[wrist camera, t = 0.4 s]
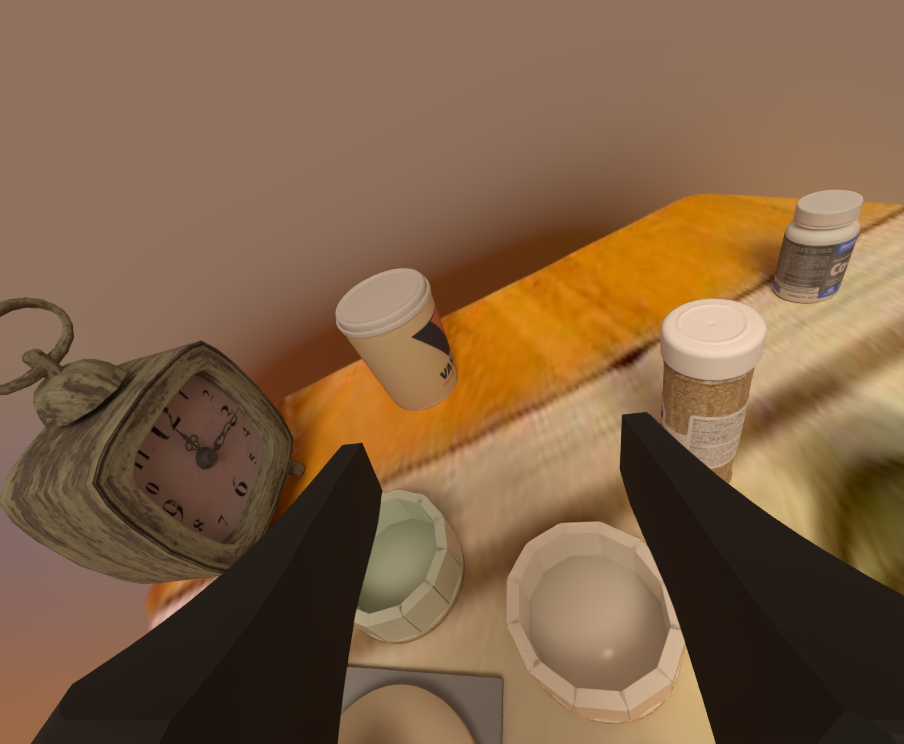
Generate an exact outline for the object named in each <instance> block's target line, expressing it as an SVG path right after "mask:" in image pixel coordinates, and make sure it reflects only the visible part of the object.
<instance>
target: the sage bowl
mask: <svg viewBox="0 0 904 744" xmlns="http://www.w3.org/2000/svg"><path fill="white" fill-rule="evenodd" d="M463 577H464V556H463V551H462V548H461V545H460V542H459V540H458V538H457V535H456V534H455V532H454V531H453V529H452V528H451V526H450V525H449V523H448V522H447V521H446V519H445V518H444V516H443V515H442V514H441V513H440V511H439V510H438V509H437V508H436V507H435V506H434V505H433V504H432V503H431V501H430V500H429V499H428V498H427V497H426V496H425V495H423V494H418V493H413V492H409V491H404V490H399V489H398V490H394V491H391V492H388V493H385V494H382V498H381V507H380V514H379V522H378V527H377V531H376V535H375V539H374V543H373V547H372V551H371V555H370V559H369V563H368V566H367V570H366V574H365V578H364V582H363V586H362V590H361V593H360V597H359V601H358V606H357V610H356V615H355V620H354V627H356V628H357V629H359V630H361V631H363V632H365V633H367V634H368V635H370V636H371V637H373V638H375V639H377V640H379V641H382V642H385V643H391V644H402V643H407V642H411V641H414V640H417V639H419V638H421V637H423V636H425V635H426V634H428V633H429V632H431V631H432V630H434V629H435V628H436V627H437V626H438V625H439V624H440V623H441V622H442V621H443V620H444V619H445V618H446V616H447V615H448V614H449V612H450V611H451V609H452V608H453V606H454V604H455V602H456V600H457V598H458V595H459V593H460V590H461V587H462V583H463Z"/></svg>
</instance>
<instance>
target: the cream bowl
mask: <svg viewBox="0 0 904 744" xmlns="http://www.w3.org/2000/svg"><path fill="white" fill-rule="evenodd" d="M527 543H528V544H526V545H525V547H524V549H523V550H522V552H521V554H520V556H519V558H518V559H517V561H516V563H515V565H514V567H513V568H512V570H511V572H510V574H509V576H508V577H507V578H508V579H507V604H506V624H507V627H508V629H509V632H510V634H511V636H512V638H513V640H514V642H515V644H516V646H517V648H518V651H519V653H520V655H521V657H522V659H523V661H524V663H525V665H526V667H527V670H528V671H529V673H530V674H531V675H532V676H533V678H534V679H535V680H536V681H537V682H538V684H539V685H540V686H541V687H542V688H544V689H545V690H546V691H547V692H549V694H550V695H551V696H552V697H553V698H554V699H556V700H557V701H558V702H559V703H560V704H561V705H563V706H564V707H566V708H567V709H568V710H570V711H571V712H573V713H575V714H577V715H579V716H580V717H582V718H586V719H589V720H592V721H595V722H600V723H606V724H622V723H629V722H633V721H636V720H639V719H642V718H643V717H645V716H647V715H649V714H651V713H652V712H653V711H655V710H656V709H657V708H658V707H660V706H661V704H662V703H663V702H664V701H665V700H666V699H667V698H668V697H670V695H671V692H672V689H673V688H674V685H675V683H676V680H677V678H678V675H679V670H680V666H681V661H682V656H683V653H684V650H685V645H686V644H685V641H684V638H683V635H682V632H681V629H680V626H679V623H678V620H677V617H676V614H675V611H674V608H673V605H672V602H671V600H670V597H669V594H668V592H667V589H666V587H665V584H664V582H663V580H662V577H661V575H660V573H659V571H658V568H657V566H656V564H655V561H654V559H653V557H652V554H651V552H650V550H649V548H648V547H647V546H646V545H645V544H644V542H643V541H641V540H640V539H638V538H636V537H633V536H631V535H629V534H627V533H625V532H622V531H620V530H618V529H616V528H614V527H611V526H609V525H607V524H605V523H602V522H573V523H560V524H557V525H556V526H554V527H552V528H551V529H549V530H547V531H546V532H544V533H542V534H541V535H539V536H537V537H536V538H534V539H532V540H531V541H529V542H527Z"/></svg>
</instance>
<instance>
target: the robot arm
mask: <svg viewBox="0 0 904 744" xmlns="http://www.w3.org/2000/svg"><path fill="white" fill-rule="evenodd" d="M620 472H621V475H622V479H623V482H624V486H625V489H626V492H627V496H628V499H629V502H630V505H631V508H632V510H633V512H634V515H635V517H636V520H637V522H638V524H639V527H640V529H641V531H642V534H643V536H644V538H645V540H646V543H647V545H648V547H649V550H650V552H651V554H652V557H653V559H654V561H655V564H656V566H657V568H658V571H659V573H660V575H661V577H662V580H663V582H664V584H665V587H666V589H667V592H668V594H669V597H670V600H671V602H672V605H673V608H674V611H675V614H676V617H677V620H678V623H679V626H680V629H681V632H682V635H683V638H684V641H685V644H686V647H687V650H688V653H689V657H690V660H691V663H692V666H693V669H694V673H695V676H696V679H697V682H698V685H699V689H700V692H701V695H702V698H703V702H704V705H705V709H706V712H707V715H708V719H709V722H710V725H711V729H712V732H713V736H714V739H715V742H716V744H904V596H903V595H902V594H900V593H898V592H896V591H894V590H892V589H890V588H889V587H887V586H885V585H883V584H881V583H880V582H878V581H876V580H874V579H872V578H871V577H869V576H867V575H865V574H864V573H862V572H860V571H859V570H857V569H855V568H854V567H852V566H850V565H848V564H847V563H845V562H843V561H842V560H840V559H838V558H837V557H835V556H833V555H832V554H830V553H828V552H826V551H825V550H823V549H821V548H820V547H818V546H817V545H815V544H813V543H812V542H810V541H809V540H807V539H805V538H804V537H802V536H801V535H799V534H798V533H796V532H795V531H793V530H792V529H790V528H789V527H787V526H786V525H784V524H783V523H781V522H780V521H778V520H777V519H775V518H774V517H772V516H771V515H770V514H768V513H767V512H765V511H764V510H763V509H761V508H760V507H758V506H757V505H756V504H754V503H753V502H752V501H750V500H749V499H748V498H746V497H745V496H744V495H742V494H741V493H740V492H739V491H737V490H736V489H735V488H733V487H732V486H731V485H729V484H728V483H727V482H726V481H724V480H723V479H722V478H721V477H719V476H718V475H717V474H716V473H715V472H713V471H712V470H711V469H710V468H709V467H707V466H706V465H705V464H704V463H703V462H702V461H700V460H699V459H698V458H697V457H696V456H695V455H693V454H692V453H691V452H690V451H689V450H688V449H687V448H685V447H684V446H683V445H682V444H681V443H680V442H679V441H678V440H677V439H676V438H674V437H673V436H672V435H671V434H670V433H669V432H668V431H667V430H666V429H665V428H664V427H663V426H662V425H661V424H659V423H658V422H657V421H656V420H655V419H654V418H653V417H652V416H651V415H650V414H648V413H647V412H643V413H634V414H624V415H622V429H621V453H620ZM381 498H382V489H381V486H380V484H379V481H378V479H377V477H376V474H375V472H374V470H373V467H372V465H371V462H370V460H369V458H368V455H367V453H366V451H365V448H364V446H363V444H362V443H357V444H348V445H342V446H341V447H340V448H339V450H338V451H337V452H336V453H335V454H334V455H333V457H332V458H331V459H330V460H329V461H328V463H327V464H326V465H325V466H324V467H323V469H322V470H321V471H320V472H319V473H318V475H317V476H316V477H315V478H314V479H313V481H312V482H311V483H310V484H309V485H308V486H307V488H306V489H305V490H304V491H303V492H302V493H301V495H300V496H299V497H298V498H297V499H296V500H295V502H294V503H293V504H292V505H291V506H290V507H289V508H288V509H287V510H286V511H285V512H284V514H283V515H282V516H281V517H280V518H279V519H278V520H277V521H276V522H275V523H274V524H273V525H272V527H271V528H270V529H269V530H268V531H267V532H266V533H265V534H264V535H263V536H262V537H261V538H260V539H259V540H258V541H257V542H256V543H255V544H254V545H253V546H252V547H251V548H250V549H249V550H248V551H247V552H246V553H245V554H244V555H242V556H241V557H240V558H239V559H238V560H237V561H236V562H235V563H234V564H233V565H232V566H231V567H229V568H228V569H227V570H226V571H225V572H224V573H223V574H222V575H220V576H219V577H218V578H217V579H216V580H214V581H213V582H212V583H211V584H210V585H208V586H207V587H206V588H205V589H204V590H202V591H201V592H200V593H199V594H198V595H196V596H195V597H194V598H193V599H192V600H191V601H189V602H188V603H187V604H186V605H184V606H183V607H182V608H180V609H179V610H178V611H177V612H175V613H174V614H173V615H171V616H170V617H169V618H167V619H166V620H165V621H163V622H162V623H161V624H159V625H158V626H157V627H155V628H154V629H153V630H151V631H150V632H149V633H147V634H146V635H144V636H143V637H142V638H140V639H139V640H137V641H136V642H135V643H133V644H132V645H131V646H129V647H128V648H126V649H125V650H123V651H122V652H120V653H119V654H117V655H116V656H114V657H113V658H111V659H110V660H108V661H107V662H105V663H104V664H102V665H101V666H99V667H98V668H97V669H95V670H93V671H92V672H90V673H89V674H87V675H86V676H84V677H83V678H82V679H80V680H78V681H77V682H75V683H74V684H72V685H71V687H70V688H69V689H68V691H67V692H66V694H65V695H64V697H63V698H62V700H61V701H60V703H59V704H58V705H57V707H56V708H55V710H54V711H53V713H52V714H51V715H50V717H49V718H48V720H47V721H46V723H45V724H44V726H43V727H42V728H41V730H40V731H39V733H38V734H37V736H36V737H35V738H34V740H33V741H32V743H31V744H338V737H339V728H340V719H341V710H342V701H343V694H344V686H345V679H346V672H347V665H348V657H349V651H350V645H351V638H352V632H353V626H354V620H355V615H356V610H357V606H358V601H359V597H360V593H361V590H362V586H363V582H364V578H365V574H366V570H367V566H368V563H369V559H370V555H371V551H372V547H373V543H374V539H375V535H376V531H377V527H378V522H379V514H380V507H381Z"/></svg>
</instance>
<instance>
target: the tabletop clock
mask: <svg viewBox="0 0 904 744" xmlns="http://www.w3.org/2000/svg"><path fill="white" fill-rule="evenodd" d="M22 308H41V309H45V310H49V311H52V312H53V313H55V314H57V315H58V317H59V318H60V319H61V321H62V323H63V329H62V335H61V337H60V339H59V341H58V343H57V344H56V346H55V348H54V349H53V350H52V351H51V352H50V353H49V354H48V355H47V354H45V353H44V352H43V351H41V350H39V349H33V350H29V351H27V352H25V353H24V355H23V357H22V359H23V362H24V363H25V364H27V365H28V366H30V367H31V368H32V369H30V370H29V371H28V372H27V373H25V374H24V375H23V376H21V377H19V378H17V379H15V380H13V381H10V382H8V383H6V384H4V385H0V395H8V394H11V393H13V392H16V391H18V390H21V389H23V388H26V387H28V386H31V385H32V384H34V383H35V382H37V381H38V380H40V379H42V378H43V377H45V379H44V380H43V381H42V382H41V383H40V385H39V386H38V387H37V389H36V390H35V391H34V396H33V403H34V406H35V409H36V411H37V414H38V416H39V418H40V420H41V421H42V422H43V424H44V425H45V428H44V429H43V430H42V431H41V432H40V434H39V435H38V436H37V437H36V438H35V440H34V441H33V442H32V443H31V444H30V446H29V447H28V448H27V449H26V450H25V452H24V453H23V454H22V455H21V457H20V458H19V459H18V461H17V462H16V463H15V465H14V466H13V468H12V470H11V471H10V473H9V475H8V476H7V478H6V480H5V484H4V486H3V489H2V492H1V495H0V506H1V507H2V508H3V510H4V511H5V512H6V514H7V515H8V517H9V518H10V519H11V521H12V522H13V523H14V524H15V525H17V526H18V527H19V528H20V529H21V530H23V531H24V532H25V533H26V534H28V535H29V536H30V537H32V538H33V539H34V540H36V541H37V542H39V543H41V544H42V545H44V546H46V547H48V548H50V549H51V550H53V551H55V552H57V553H58V554H60V555H62V556H64V557H65V558H67V559H69V560H71V561H72V562H74V563H76V564H78V565H79V566H82V567H85V568H88V569H91V570H94V571H97V572H100V573H103V574H105V575H108V576H112V577H114V578H118V579H121V580H124V581H130V582H134V583H141V584H151V583H163V582H172V581H180V580H189V579H197V578H206V577H214V576H220V575H222V574H223V573H224V572H225V571H226V570H227V569H228V568H229V567H231V566H232V565H233V564H234V563H235V562H236V561H237V560H238V559H239V558H240V557H241V556H242V555H244V554H245V553H246V552H247V551H248V550H249V549H250V548H251V547H252V546H253V545H254V544H255V543H256V542H257V541H258V540H259V539H260V538H261V537H262V536H263V535H264V534H265V533H266V530H267V528H268V526H269V523H270V521H271V519H272V517H273V514H274V512H275V510H276V507H277V505H278V502H279V499H280V496H281V493H282V490H283V486H284V483H285V480H286V477H287V474H288V475H290V476H291V477H293V478H298V477H300V476H301V475H302V474H303V473H304V465H303V464H302V463H300V462H298V461H294V462H292V463H291V459H292V453H293V437H292V435H291V432H290V430H289V428H288V426H287V424H286V423H285V421H284V419H283V418H282V416H281V415H280V413H279V412H278V410H277V409H276V408H275V407H274V405H273V404H272V403H271V402H270V400H269V399H268V398H267V397H266V395H265V394H264V393H263V392H262V391H261V389H260V388H259V387H258V386H257V385H256V384H255V383H254V382H253V381H252V380H251V379H250V378H249V377H248V376H247V375H246V374H245V373H244V372H243V371H242V370H241V369H240V368H239V367H238V366H237V365H236V364H235V363H234V362H233V361H232V360H230V359H229V358H227V356H225V355H224V354H223V353H221V352H220V351H219V350H218V349H216V348H214V347H212V346H210V345H209V344H207V343H205V342H203V341H198V342H195V343H192V344H188V345H185V346H181V347H177V348H174V349H170V350H167V351H163V352H160V353H156V354H153V355H149V356H146V357H143V358H139V359H135V360H132V361H128V362H125V363H122V364H120V365H117V366H115V365H113V364H111V363H109V362H105V361H101V360H96V359H83V360H79V361H76V362H73V363H69V364H66V365H64V366H61V365H60V364H59V363H60V362H61V361H62V359H63V358H64V357H65V355H66V354H67V353H68V351H69V348H70V346H71V343H72V341H73V338H74V333H73V324H72V322H71V320H70V318H69V316H68V315H67V314H66V312H65V311H63V310H62V309H61V308H59V307H58V306H56V305H54V304H52V303H50V302H47V301H45V300H42V299H33V298H18V299H9V300H5V301H2V302H0V317H1V316H3V315H4V314H7V313H9V312H11V311H13V310H17V309H22Z"/></svg>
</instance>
